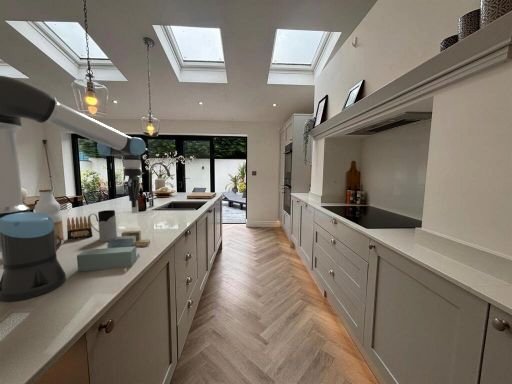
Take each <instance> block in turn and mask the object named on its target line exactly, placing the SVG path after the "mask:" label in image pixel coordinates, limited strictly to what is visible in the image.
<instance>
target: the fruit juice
mask: <svg viewBox="0 0 512 384" xmlns="http://www.w3.org/2000/svg"><path fill="white" fill-rule="evenodd" d="M38 192H39V200H38V201H37V203H36V204H35V206H34V212H35V213H37V212H40V213H46V214H49V215H50V216H51V217H52V218H53V223H54V226H55V227H54V232H55V234H56V235H58V236H60V238H61V245H60V246H62V245H64V243H65V237H64V227H63V226H64V225H63V218H62V214H61V204H60V203H59V202H58V201H57V200H56V198H55V196H54V194H53V193H54V189H53V188H41V189H39V190H38Z"/></svg>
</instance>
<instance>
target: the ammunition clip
mask: <svg viewBox="0 0 512 384" xmlns="http://www.w3.org/2000/svg"><path fill="white" fill-rule="evenodd" d="M66 223H67V224H66V231H67V232H66V233H67V241H72V240H79V239H78V238H80V239H86V238H92V237H93V236H94V235H93V227H92V226H91V224H90V222H89V215H88V216H87V217H86V216H84V217H82V216H80V217H79V218H78V216H76V217H75V219H74V217H71V221H70V218H69V217H67V219H66ZM71 239H72V240H71Z"/></svg>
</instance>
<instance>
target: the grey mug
mask: <svg viewBox="0 0 512 384" xmlns="http://www.w3.org/2000/svg"><path fill="white" fill-rule="evenodd" d="M92 215H93V216H95V219H96V222H97V223H98V229H97V228H95V226H94V225H93V223H92V221H91V220H92V219H91V216H92ZM88 216H89V222H90V224H91V227H92V229H94V230H95V231H96V232H98V235H99V238H98V241H99V242H108V239H110V238H111V237H119V236H118V233H117V231H118V230H117V220H116V219H117V218H116V217H117V216H116V210H114V209H110V210H109V209H108V210H99V211H98V213H97V214H96V213H90V214H89V215H88Z"/></svg>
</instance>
